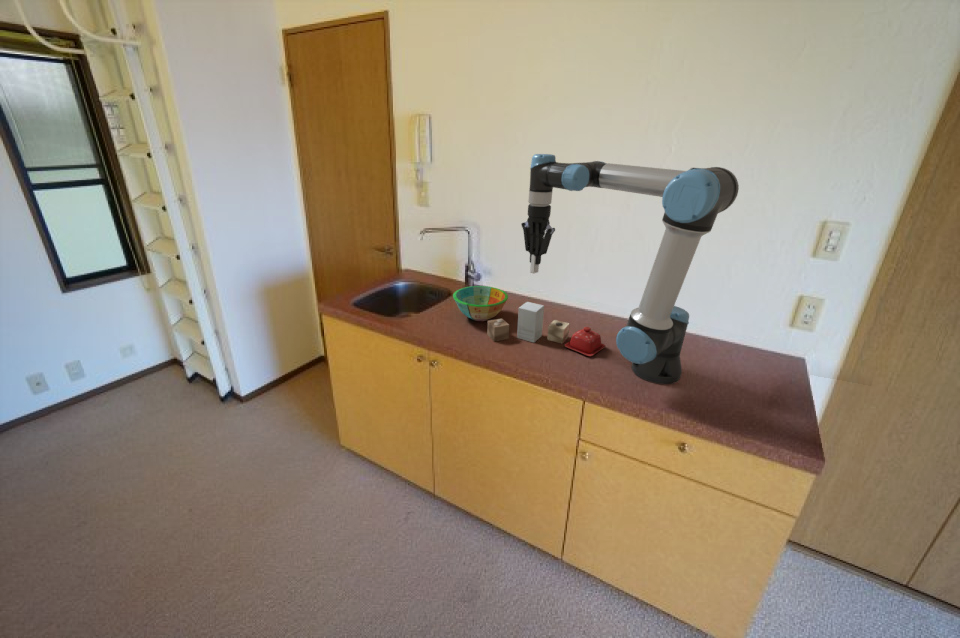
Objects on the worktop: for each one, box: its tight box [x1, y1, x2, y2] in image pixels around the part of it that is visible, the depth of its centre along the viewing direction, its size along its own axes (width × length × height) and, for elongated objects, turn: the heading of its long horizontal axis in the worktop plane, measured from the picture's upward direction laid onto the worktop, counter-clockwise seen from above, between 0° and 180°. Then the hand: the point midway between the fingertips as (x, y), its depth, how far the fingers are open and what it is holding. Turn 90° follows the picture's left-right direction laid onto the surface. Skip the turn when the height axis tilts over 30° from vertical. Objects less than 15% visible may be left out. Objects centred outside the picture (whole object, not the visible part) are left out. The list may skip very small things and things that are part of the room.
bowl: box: [452, 285, 509, 322], centre depth 172 cm, size 22×22×10 cm
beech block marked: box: [546, 319, 570, 344], centre depth 157 cm, size 6×6×6 cm
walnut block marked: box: [486, 318, 510, 342], centre depth 157 cm, size 6×6×6 cm
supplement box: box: [516, 301, 545, 344], centre depth 156 cm, size 7×7×13 cm
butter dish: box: [564, 326, 606, 357], centre depth 150 cm, size 12×12×8 cm
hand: (534, 272), depth 148 cm, fingers closed
